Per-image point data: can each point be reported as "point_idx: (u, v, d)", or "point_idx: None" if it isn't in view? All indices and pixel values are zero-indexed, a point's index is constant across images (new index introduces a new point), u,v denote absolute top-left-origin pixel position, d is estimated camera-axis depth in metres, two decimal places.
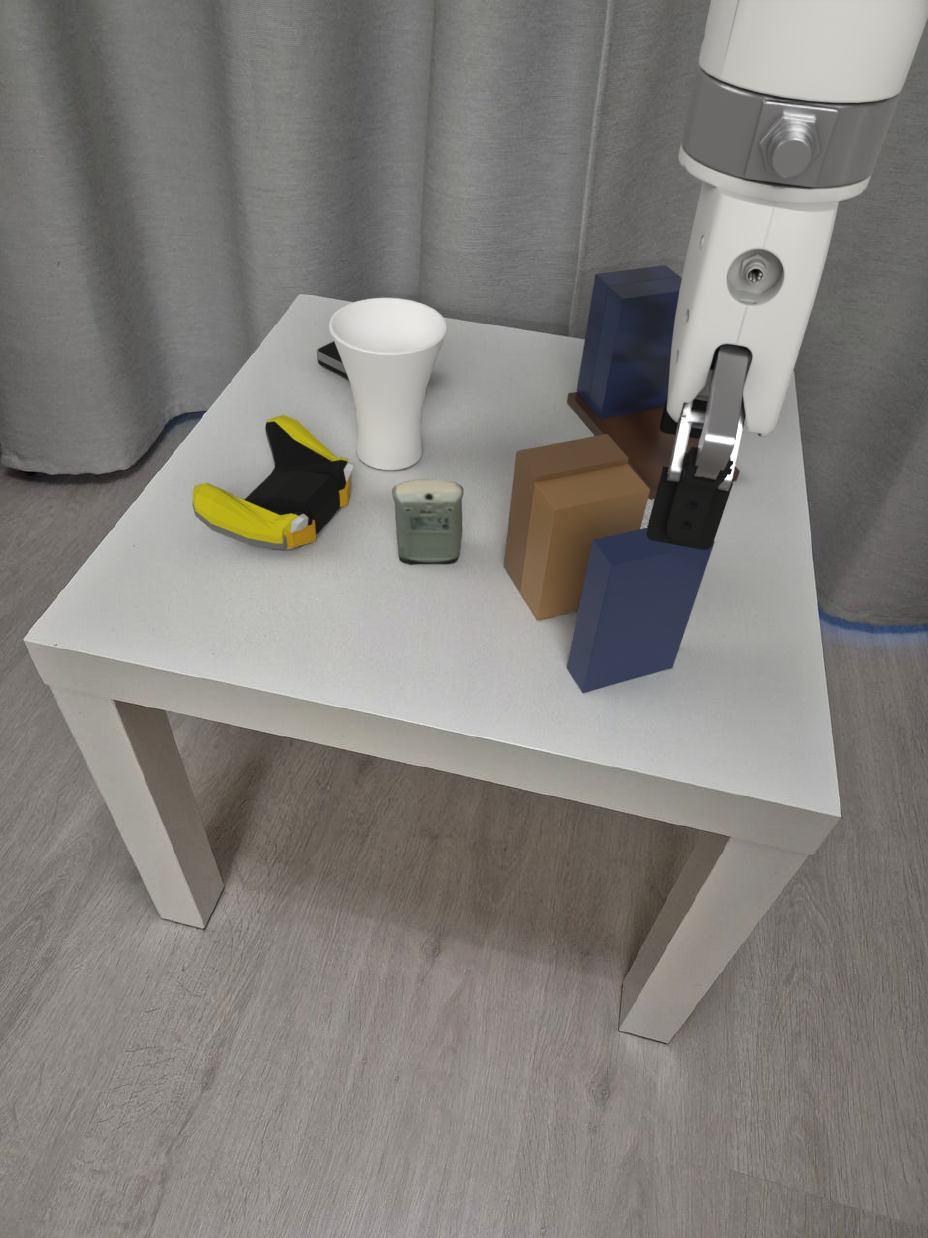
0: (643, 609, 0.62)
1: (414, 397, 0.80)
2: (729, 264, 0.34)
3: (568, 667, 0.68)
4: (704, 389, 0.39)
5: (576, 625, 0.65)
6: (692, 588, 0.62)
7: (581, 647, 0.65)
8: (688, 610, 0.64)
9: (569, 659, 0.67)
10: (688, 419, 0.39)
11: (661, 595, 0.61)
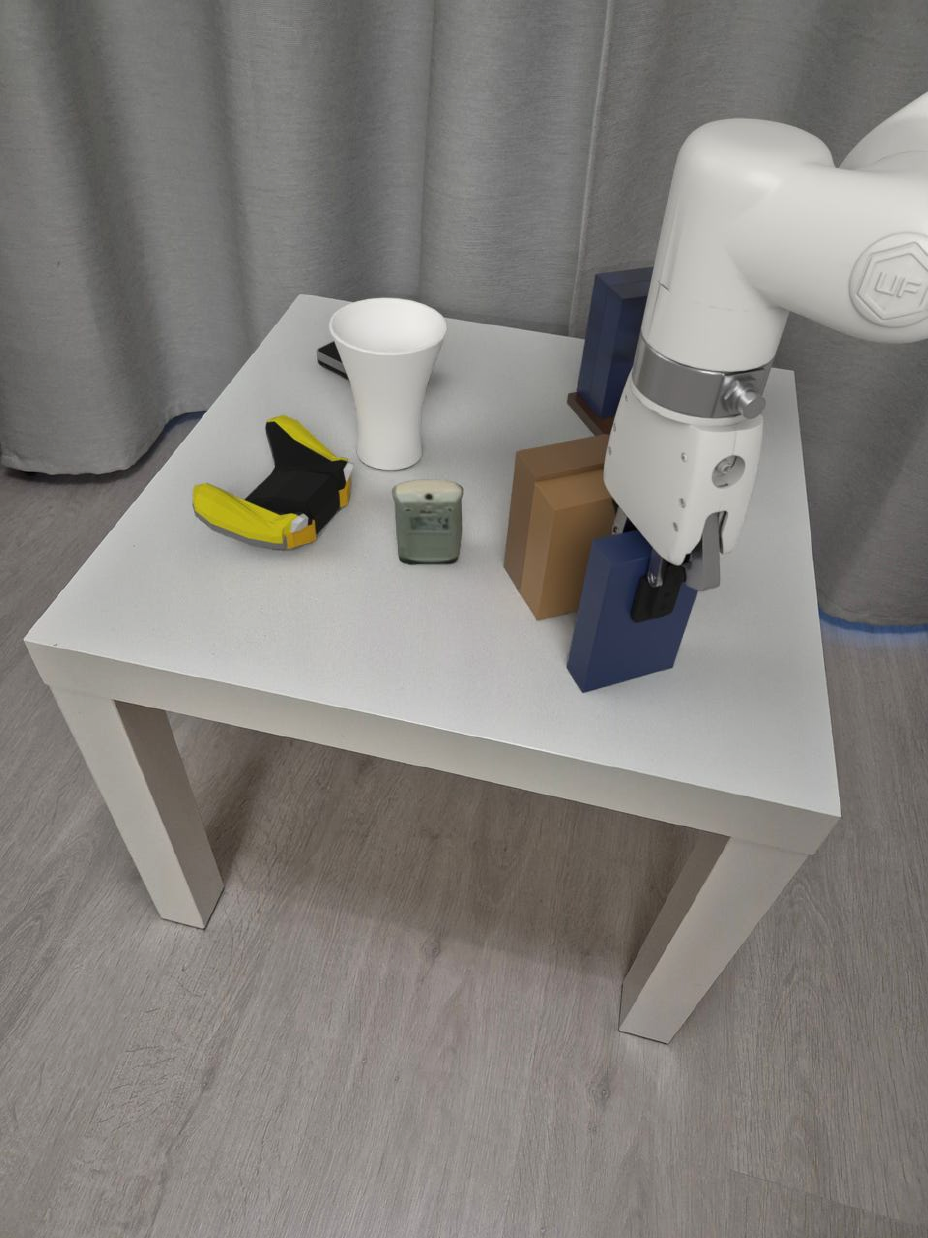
0: None
1: (414, 397, 0.80)
2: (713, 469, 0.49)
3: (568, 667, 0.68)
4: None
5: (576, 625, 0.65)
6: (691, 588, 0.62)
7: (581, 646, 0.65)
8: (688, 610, 0.64)
9: (569, 659, 0.67)
10: None
11: None
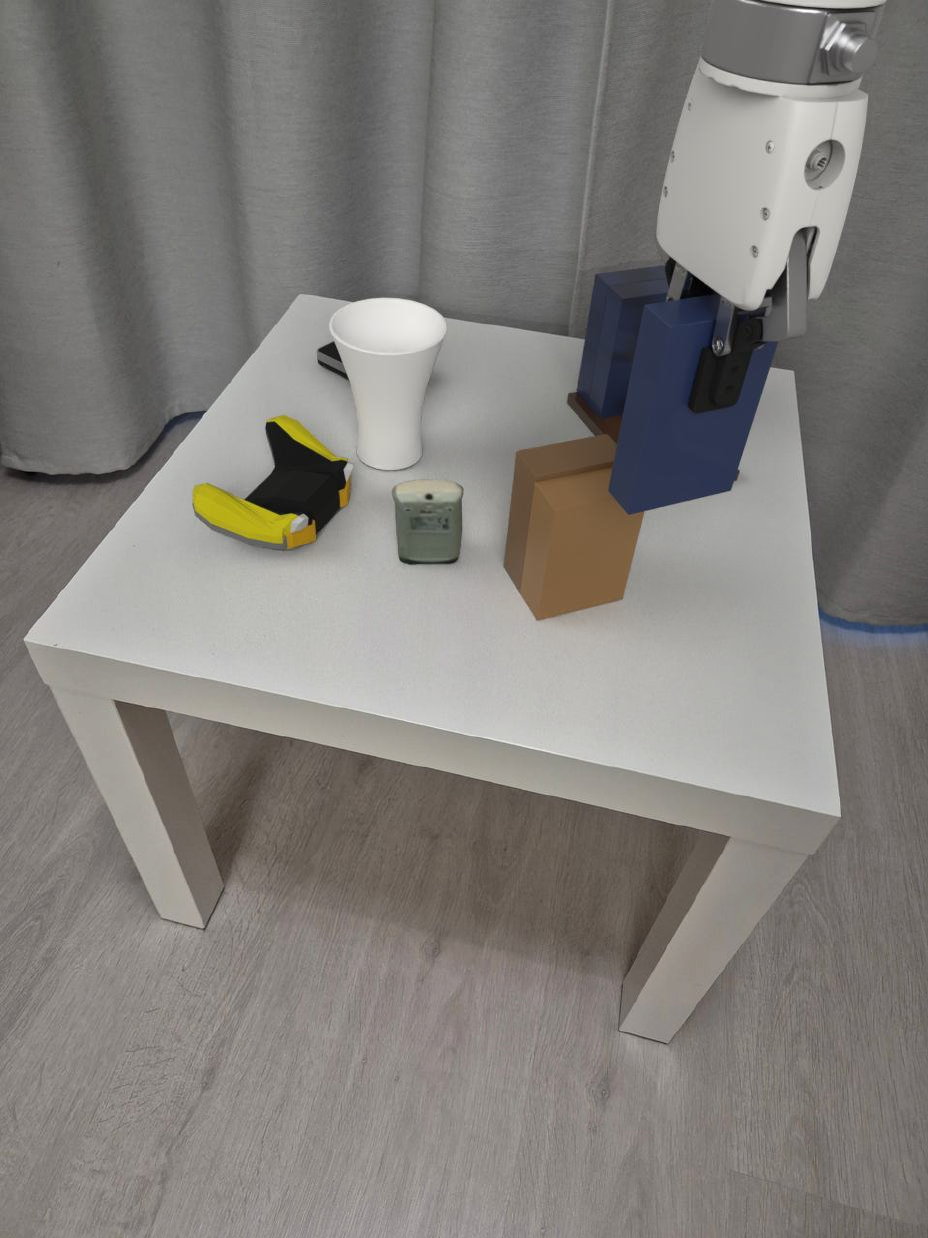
0: None
1: (414, 397, 0.80)
2: (806, 158, 0.40)
3: (611, 488, 0.58)
4: None
5: (621, 429, 0.55)
6: (759, 375, 0.53)
7: (627, 454, 0.55)
8: (753, 408, 0.55)
9: (612, 477, 0.58)
10: (737, 310, 0.47)
11: None
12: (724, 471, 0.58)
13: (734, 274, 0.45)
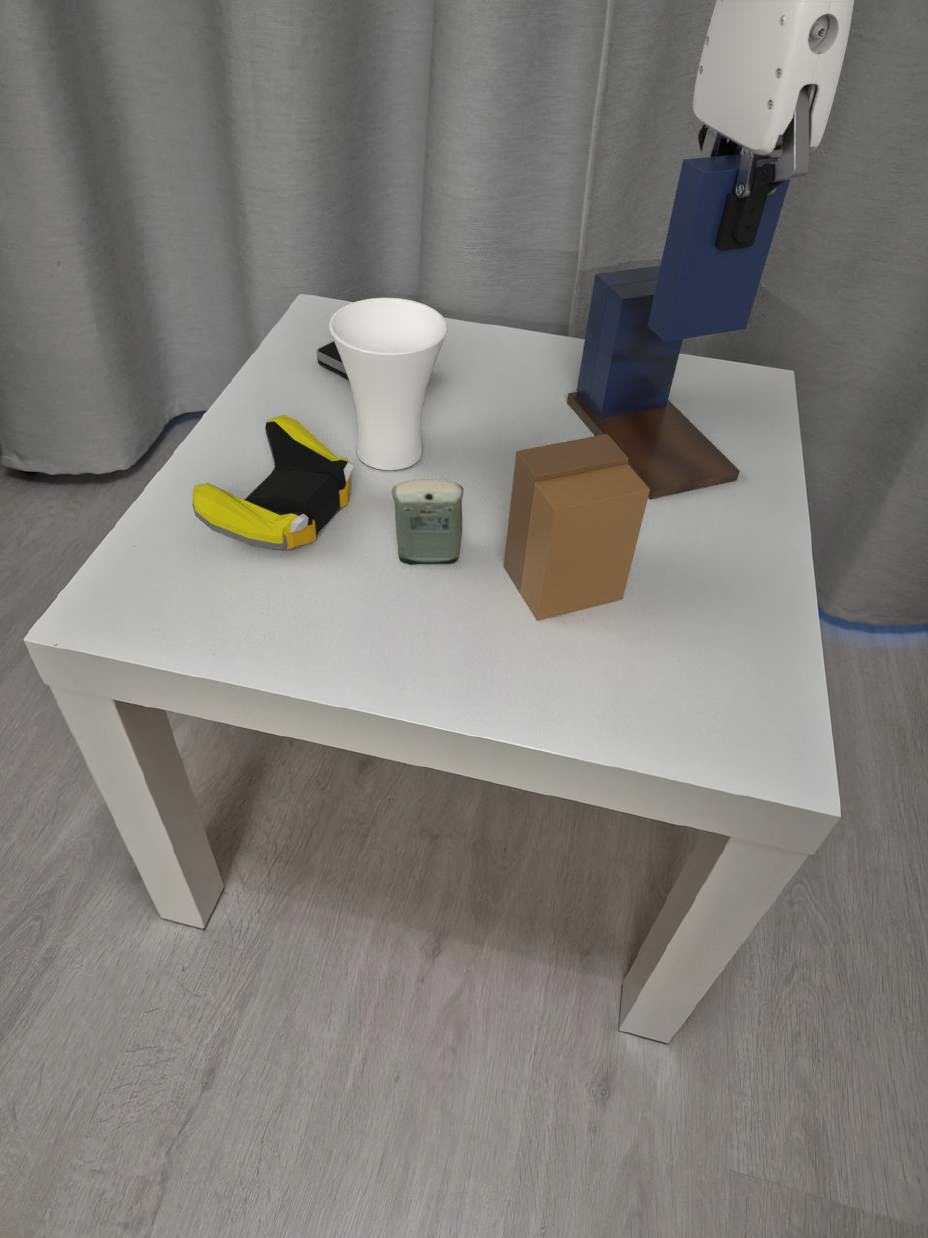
0: None
1: (414, 397, 0.80)
2: (809, 28, 0.54)
3: (650, 323, 0.73)
4: None
5: (661, 269, 0.69)
6: (770, 223, 0.67)
7: (665, 289, 0.70)
8: (765, 252, 0.69)
9: (651, 313, 0.72)
10: (756, 158, 0.61)
11: None
12: (741, 309, 0.72)
13: (754, 125, 0.59)
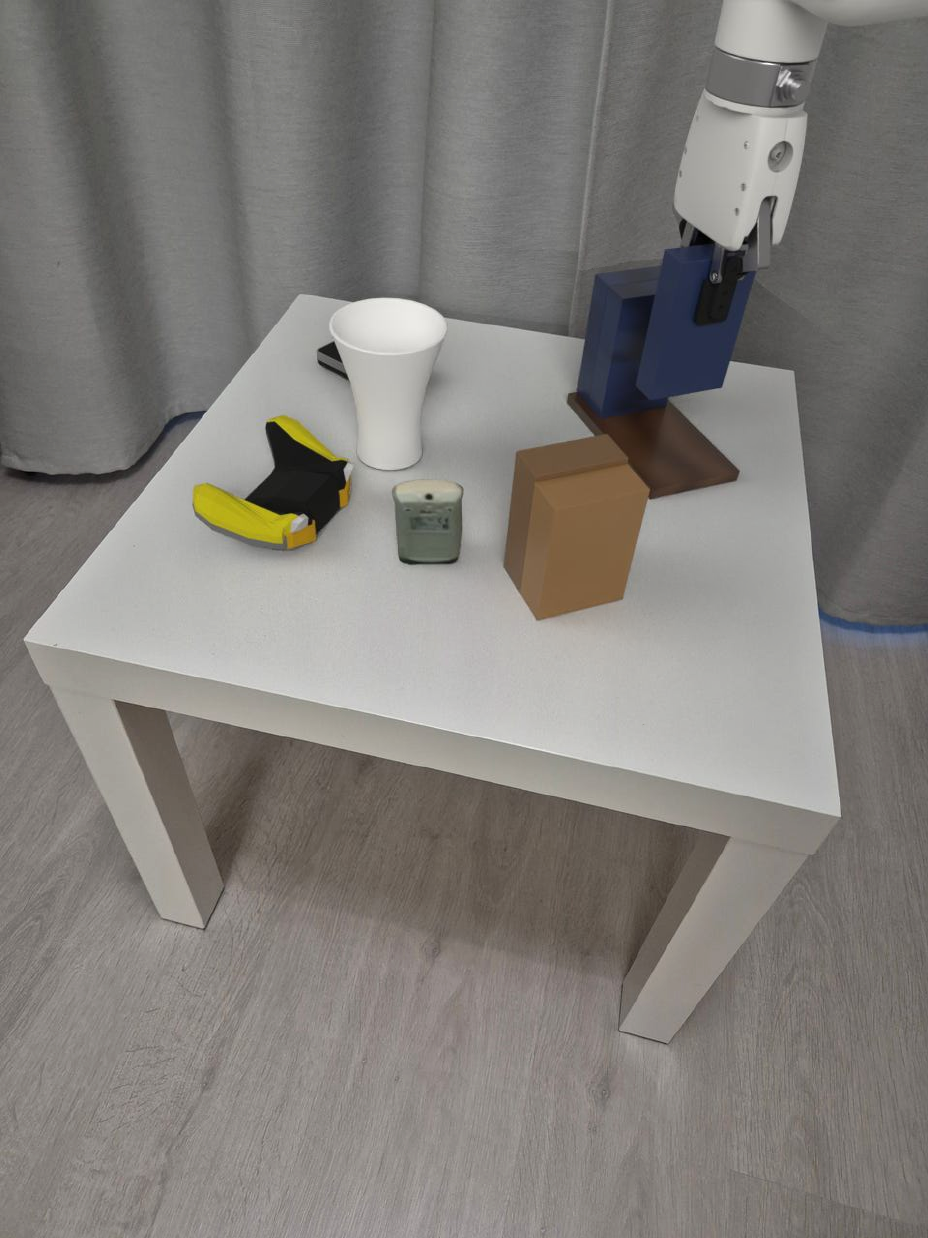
0: None
1: (414, 397, 0.80)
2: (768, 152, 0.65)
3: (637, 383, 0.83)
4: None
5: (646, 338, 0.80)
6: (741, 300, 0.77)
7: (650, 356, 0.80)
8: (737, 324, 0.79)
9: (639, 375, 0.82)
10: (726, 251, 0.71)
11: None
12: (717, 371, 0.82)
13: (724, 227, 0.69)
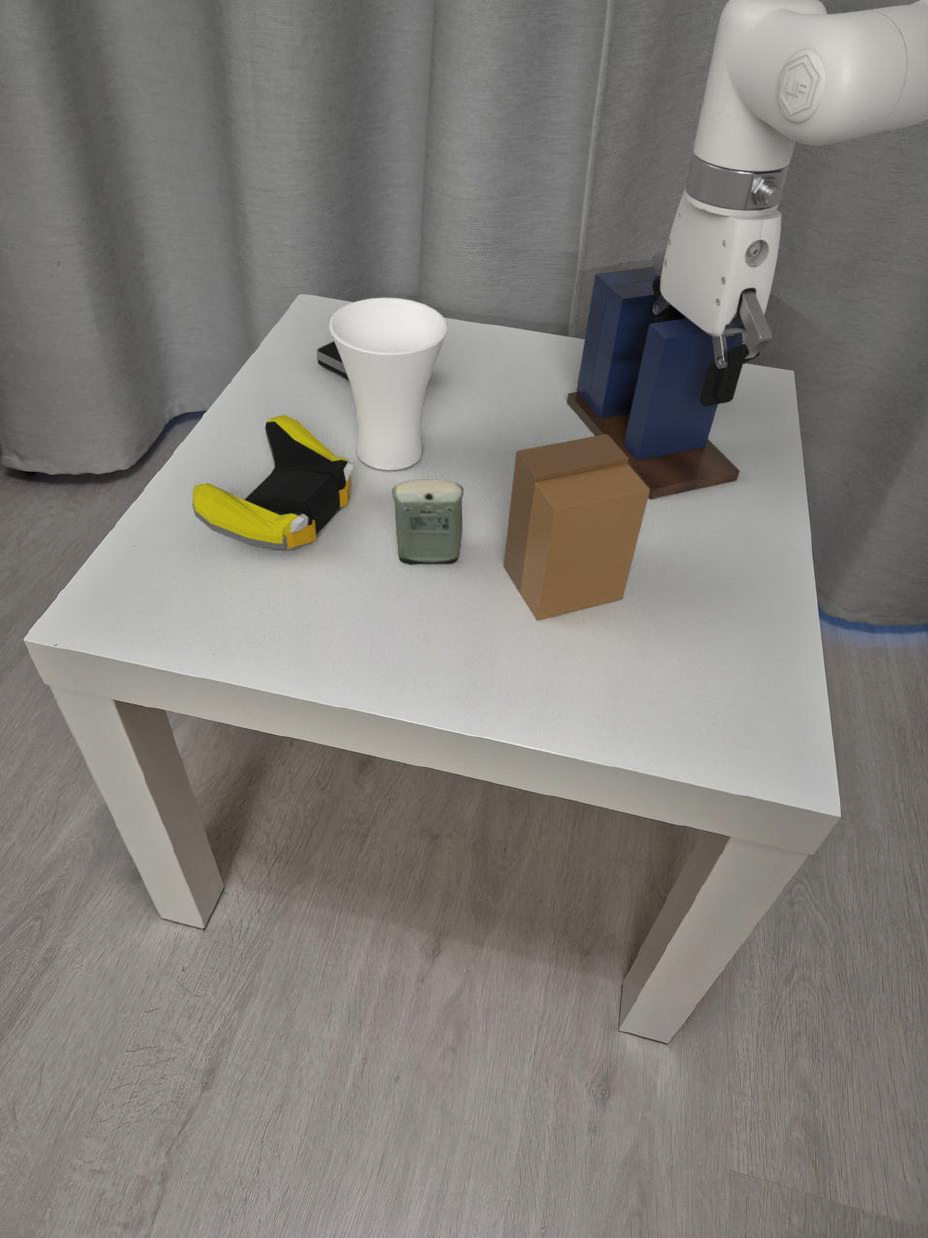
0: (685, 383, 0.82)
1: (414, 397, 0.80)
2: (745, 250, 0.69)
3: (625, 443, 0.88)
4: None
5: (633, 403, 0.84)
6: None
7: (637, 420, 0.85)
8: None
9: (626, 435, 0.87)
10: (723, 334, 0.74)
11: (699, 371, 0.81)
12: (700, 432, 0.87)
13: (707, 315, 0.74)
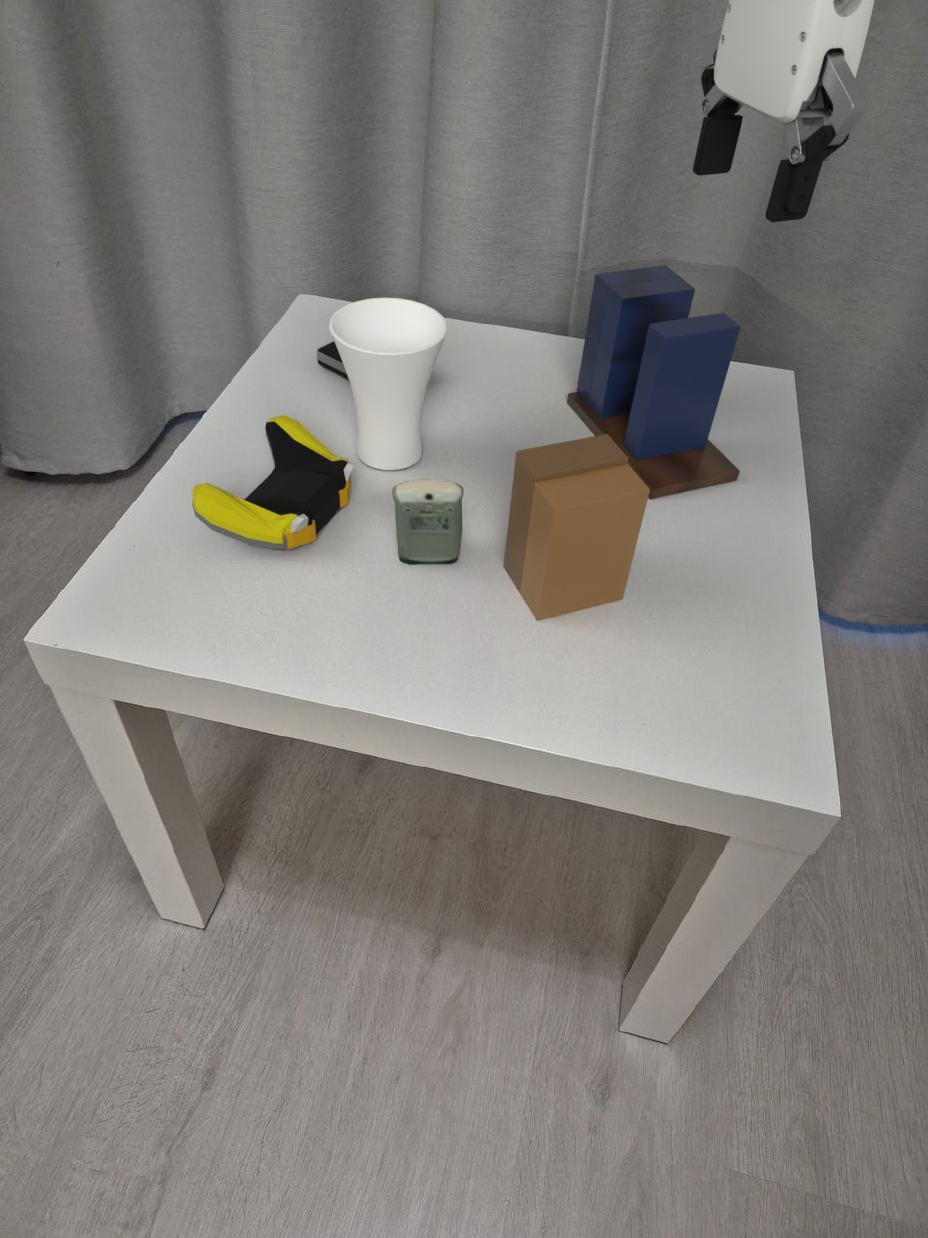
0: (685, 383, 0.82)
1: (414, 397, 0.80)
2: None
3: (625, 443, 0.88)
4: None
5: (633, 403, 0.84)
6: (722, 369, 0.82)
7: (637, 420, 0.85)
8: (719, 390, 0.84)
9: (626, 435, 0.87)
10: (799, 116, 0.58)
11: (699, 371, 0.81)
12: (700, 432, 0.87)
13: (777, 92, 0.58)
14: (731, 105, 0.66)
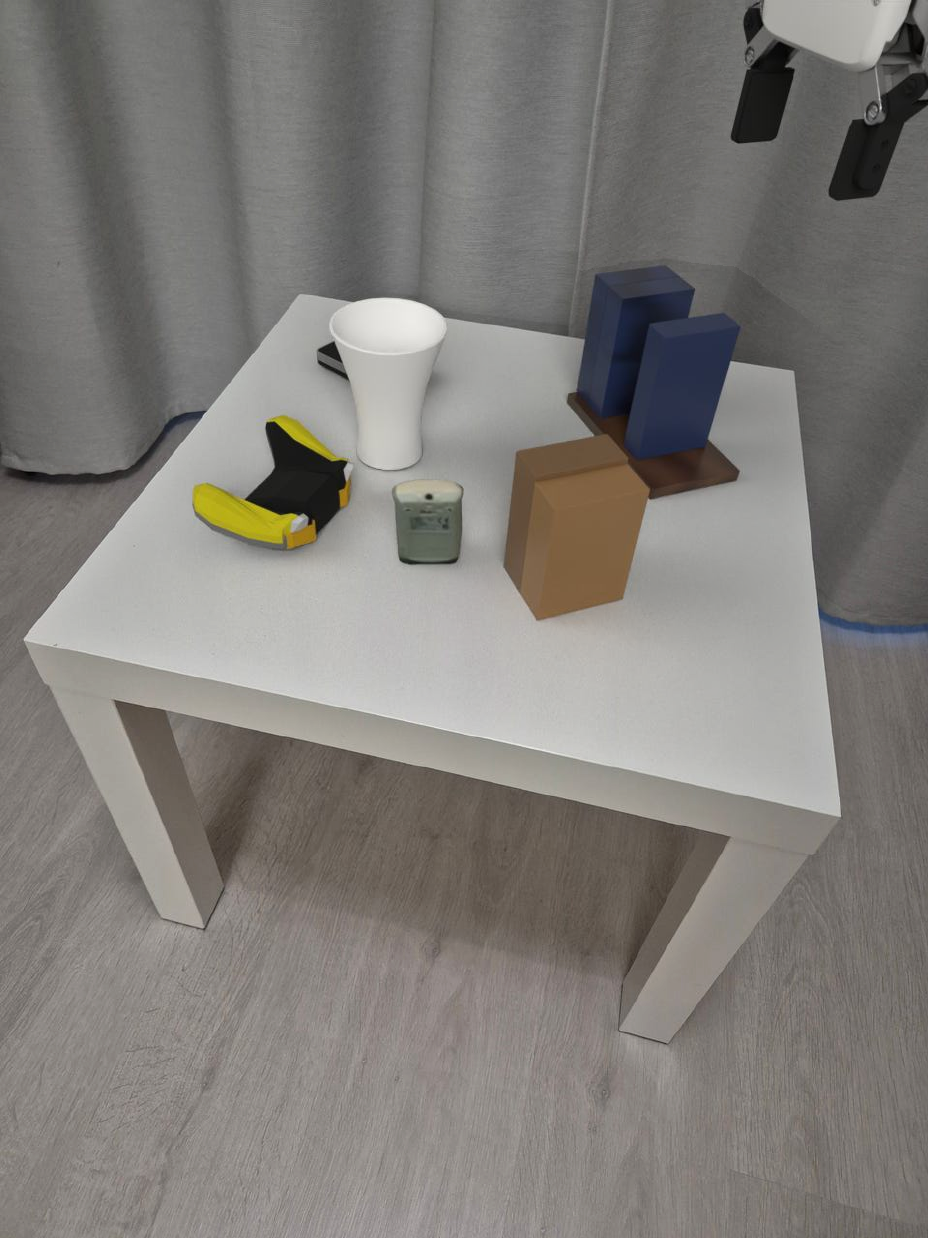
0: (685, 383, 0.82)
1: (414, 397, 0.80)
2: None
3: (625, 443, 0.88)
4: None
5: (633, 403, 0.84)
6: (722, 369, 0.82)
7: (637, 420, 0.85)
8: (719, 390, 0.84)
9: (626, 435, 0.87)
10: (880, 62, 0.45)
11: (699, 371, 0.81)
12: (700, 432, 0.87)
13: (851, 31, 0.45)
14: (781, 54, 0.53)
